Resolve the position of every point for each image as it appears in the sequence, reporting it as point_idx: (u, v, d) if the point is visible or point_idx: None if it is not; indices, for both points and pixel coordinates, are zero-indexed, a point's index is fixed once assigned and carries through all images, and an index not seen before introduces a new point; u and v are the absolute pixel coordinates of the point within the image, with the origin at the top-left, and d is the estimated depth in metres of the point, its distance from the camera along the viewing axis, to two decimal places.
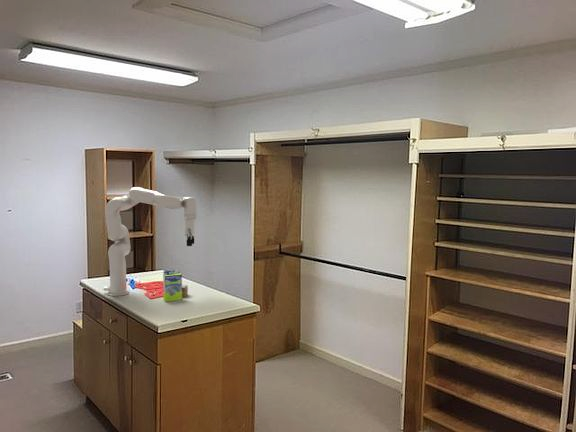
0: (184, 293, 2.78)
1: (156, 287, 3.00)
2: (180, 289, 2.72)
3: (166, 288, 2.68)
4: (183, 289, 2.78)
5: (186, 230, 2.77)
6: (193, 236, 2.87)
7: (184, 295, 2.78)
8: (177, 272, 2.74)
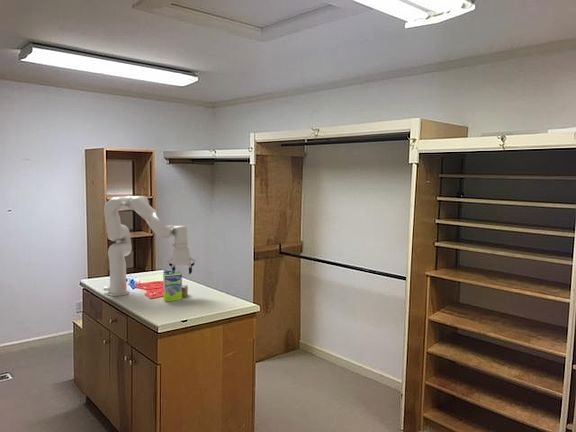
0: (184, 293, 2.78)
1: (156, 287, 3.00)
2: (180, 289, 2.72)
3: (166, 288, 2.68)
4: (183, 289, 2.78)
5: (189, 258, 2.78)
6: (174, 266, 2.81)
7: (184, 295, 2.78)
8: (177, 272, 2.74)
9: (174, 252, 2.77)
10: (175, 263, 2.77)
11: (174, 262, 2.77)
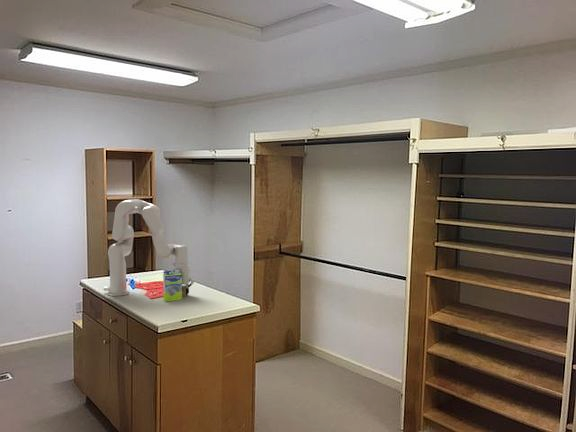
0: (184, 293, 2.78)
1: (156, 287, 3.00)
2: (180, 289, 2.72)
3: (166, 288, 2.68)
4: (183, 289, 2.78)
5: (189, 279, 2.79)
6: None
7: (184, 295, 2.78)
8: (177, 272, 2.74)
9: None
10: None
11: None
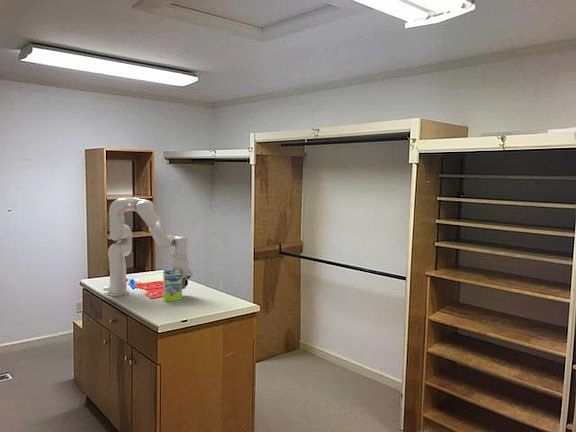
0: (183, 284, 2.78)
1: (156, 287, 3.00)
2: (180, 289, 2.72)
3: (166, 288, 2.68)
4: (182, 280, 2.77)
5: (188, 271, 2.78)
6: None
7: (183, 286, 2.78)
8: (177, 272, 2.74)
9: (173, 262, 2.77)
10: None
11: (173, 272, 2.77)
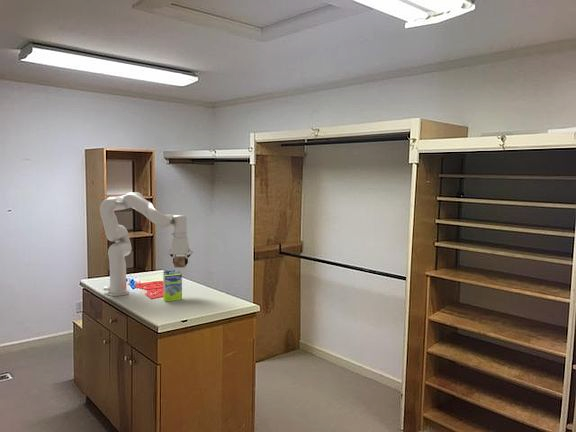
0: (183, 263, 2.77)
1: (157, 287, 3.00)
2: (180, 289, 2.72)
3: (166, 288, 2.68)
4: (182, 259, 2.77)
5: (188, 250, 2.78)
6: (175, 256, 2.81)
7: (183, 265, 2.77)
8: (177, 272, 2.74)
9: (173, 241, 2.76)
10: (174, 252, 2.77)
11: (173, 251, 2.77)
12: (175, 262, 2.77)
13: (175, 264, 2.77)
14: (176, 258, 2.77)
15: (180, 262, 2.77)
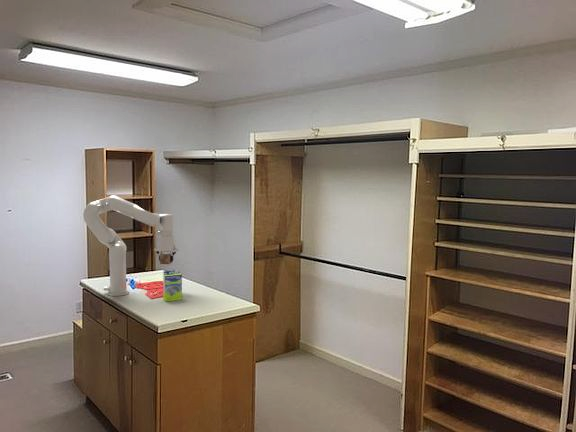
0: (168, 260, 2.88)
1: (157, 287, 3.00)
2: (180, 289, 2.72)
3: (166, 288, 2.68)
4: (167, 256, 2.88)
5: (173, 247, 2.89)
6: None
7: (168, 262, 2.88)
8: (177, 272, 2.74)
9: (159, 239, 2.88)
10: (159, 249, 2.88)
11: (159, 248, 2.88)
12: (161, 259, 2.88)
13: (161, 261, 2.88)
14: (162, 255, 2.88)
15: (165, 259, 2.88)
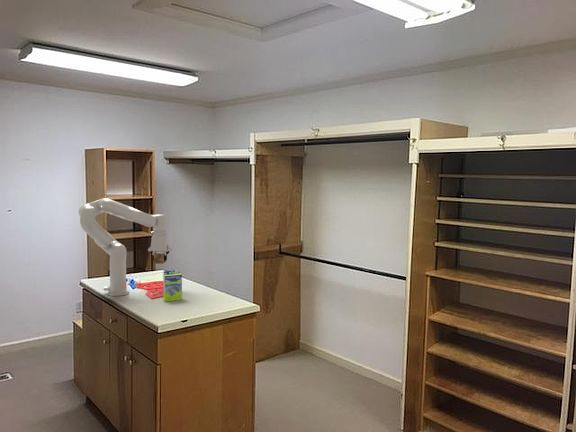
0: (162, 259, 2.95)
1: (157, 287, 3.00)
2: (180, 289, 2.72)
3: (166, 288, 2.68)
4: (161, 255, 2.94)
5: (167, 247, 2.95)
6: None
7: (162, 261, 2.95)
8: (177, 272, 2.74)
9: (152, 239, 2.94)
10: (153, 249, 2.94)
11: (152, 248, 2.94)
12: (155, 258, 2.95)
13: (155, 260, 2.95)
14: (156, 255, 2.94)
15: (159, 258, 2.95)
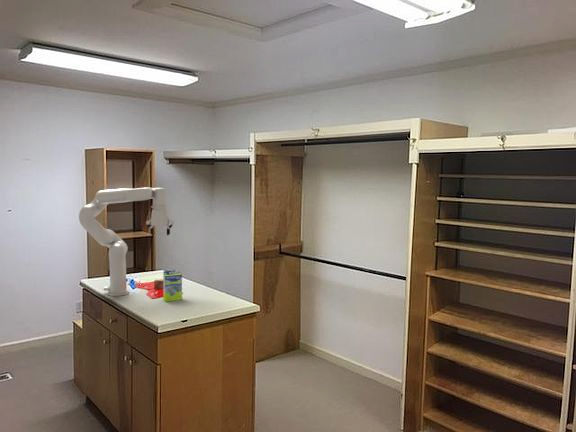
0: (162, 286, 2.96)
1: None
2: (180, 289, 2.72)
3: (166, 288, 2.68)
4: (161, 282, 2.96)
5: (167, 220, 2.85)
6: None
7: (162, 288, 2.96)
8: (177, 272, 2.74)
9: (153, 213, 2.84)
10: (153, 224, 2.84)
11: (152, 223, 2.84)
12: (155, 285, 2.96)
13: (155, 287, 2.96)
14: (156, 281, 2.96)
15: (160, 285, 2.96)
